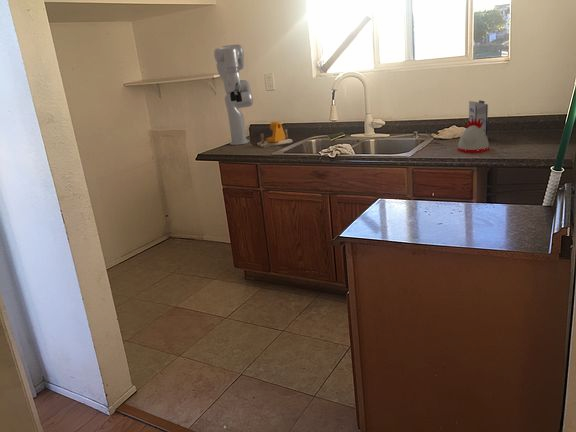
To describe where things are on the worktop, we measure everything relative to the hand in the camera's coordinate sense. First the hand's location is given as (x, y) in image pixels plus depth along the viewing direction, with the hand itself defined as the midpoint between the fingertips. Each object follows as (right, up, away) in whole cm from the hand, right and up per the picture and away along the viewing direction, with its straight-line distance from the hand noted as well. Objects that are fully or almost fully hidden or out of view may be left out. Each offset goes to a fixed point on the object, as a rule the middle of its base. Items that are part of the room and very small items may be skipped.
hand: (236, 101), depth 284 cm
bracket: (+23, -21, +15) cm, 34 cm away
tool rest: (+22, -22, +16) cm, 35 cm away
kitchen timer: (+119, -35, -50) cm, 134 cm away
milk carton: (+129, -27, -29) cm, 135 cm away
